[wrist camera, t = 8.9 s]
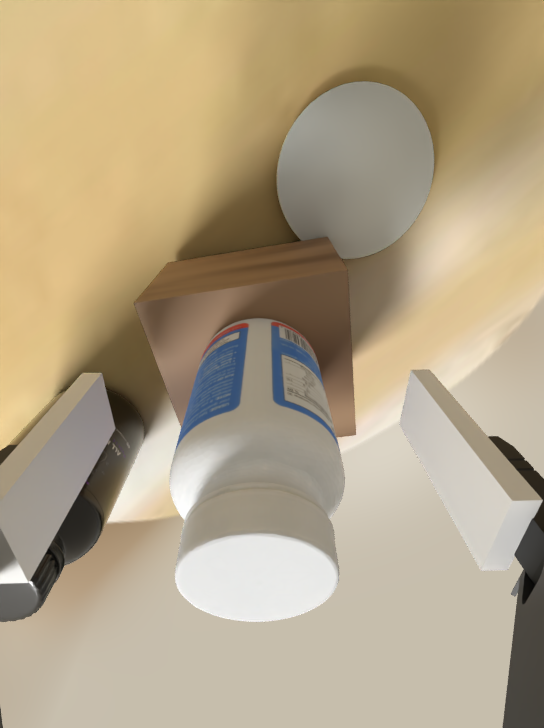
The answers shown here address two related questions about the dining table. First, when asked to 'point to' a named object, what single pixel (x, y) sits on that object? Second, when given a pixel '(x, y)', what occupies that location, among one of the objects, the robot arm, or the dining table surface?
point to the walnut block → (253, 313)
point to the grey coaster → (356, 168)
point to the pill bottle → (257, 478)
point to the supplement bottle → (79, 509)
